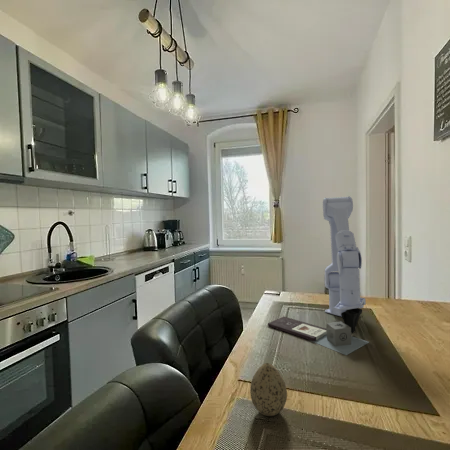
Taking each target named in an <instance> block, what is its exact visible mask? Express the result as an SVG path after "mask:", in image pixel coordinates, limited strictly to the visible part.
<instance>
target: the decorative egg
mask: <svg viewBox="0 0 450 450" xmlns="http://www.w3.org/2000/svg"><path fill="white" fill-rule="evenodd" d="M287 394H288V393H287V386H286V383H285V381H284V378H283V376H282V374H281V373H280V371H279V370H278V369H277V368H276V367H275V366H274V365H273V364H271V363H269V362H266V363H263V364H261V366H259V368H257V370H256V371H255V373H254V375H253V376H252V379H251V382H250V393H249V395H250V399H251V402H252V405H253V406H254V408H255V409H256V411H258V413H260V414H261V415H263V416H265V417H274V416H276V415H278V414H280V413H281V412H282V411H283V409H284V407H285V406H286V403H287V399H288V398H287V397H288V395H287Z"/></svg>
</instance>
